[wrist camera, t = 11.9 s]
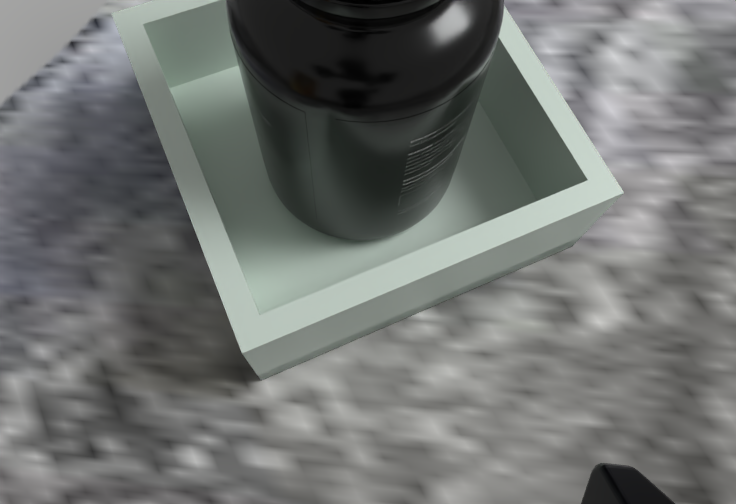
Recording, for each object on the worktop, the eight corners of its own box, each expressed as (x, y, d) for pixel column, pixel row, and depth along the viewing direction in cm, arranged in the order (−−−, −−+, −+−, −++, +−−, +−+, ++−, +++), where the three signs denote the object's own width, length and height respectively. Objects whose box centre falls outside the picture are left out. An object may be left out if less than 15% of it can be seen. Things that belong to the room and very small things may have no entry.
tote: (572, 246, 23) (623, 192, 19) (261, 380, 21) (241, 353, 17) (427, 1, 27) (444, -89, 23) (149, 94, 25) (111, 13, 21)
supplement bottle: (425, 67, 25) (498, -286, 13) (473, 226, 22) (611, -38, 11) (249, 96, 24) (169, -253, 13) (280, 264, 22) (219, 21, 10)
